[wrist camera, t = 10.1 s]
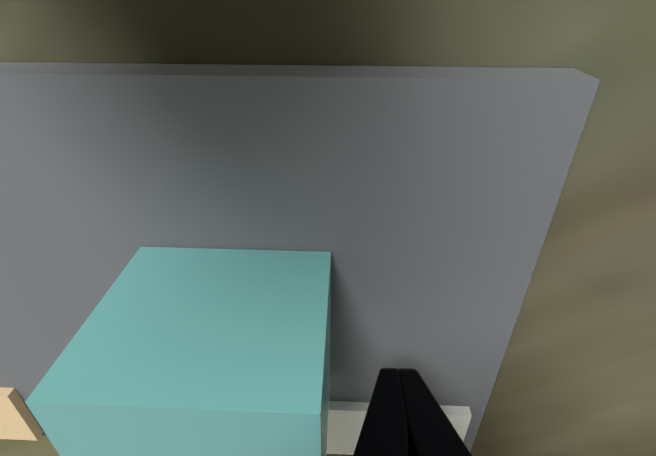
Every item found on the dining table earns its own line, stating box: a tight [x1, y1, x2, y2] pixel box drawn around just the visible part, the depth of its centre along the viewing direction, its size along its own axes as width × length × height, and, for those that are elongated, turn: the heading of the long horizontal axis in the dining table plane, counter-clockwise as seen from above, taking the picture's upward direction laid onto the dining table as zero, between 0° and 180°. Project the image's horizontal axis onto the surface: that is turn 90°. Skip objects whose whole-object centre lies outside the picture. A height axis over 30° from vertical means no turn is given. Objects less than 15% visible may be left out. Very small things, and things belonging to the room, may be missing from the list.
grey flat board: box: [0, 62, 600, 455], centre depth 11 cm, size 20×12×1 cm, turn 90°
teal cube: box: [25, 247, 331, 456], centre depth 9 cm, size 4×4×4 cm
